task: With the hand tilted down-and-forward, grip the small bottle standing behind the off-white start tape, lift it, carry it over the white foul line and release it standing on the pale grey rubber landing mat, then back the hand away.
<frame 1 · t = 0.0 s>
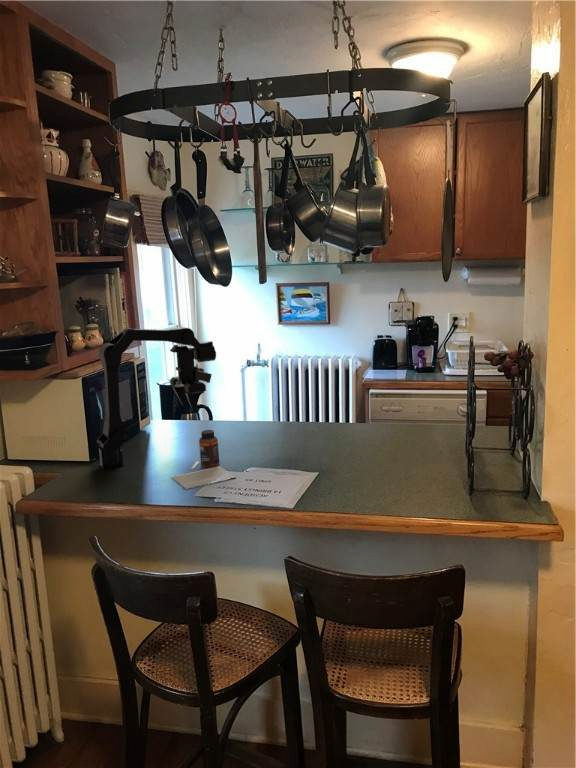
hand: (189, 408, 214), 15 cm above the countertop, tool pointing down, fingers open, 9 cm apart
supplement bottle: (210, 465, 199), on the countertop
landing mat: (203, 478, 187), on the countertop
start tape: (195, 465, 199), on the countertop
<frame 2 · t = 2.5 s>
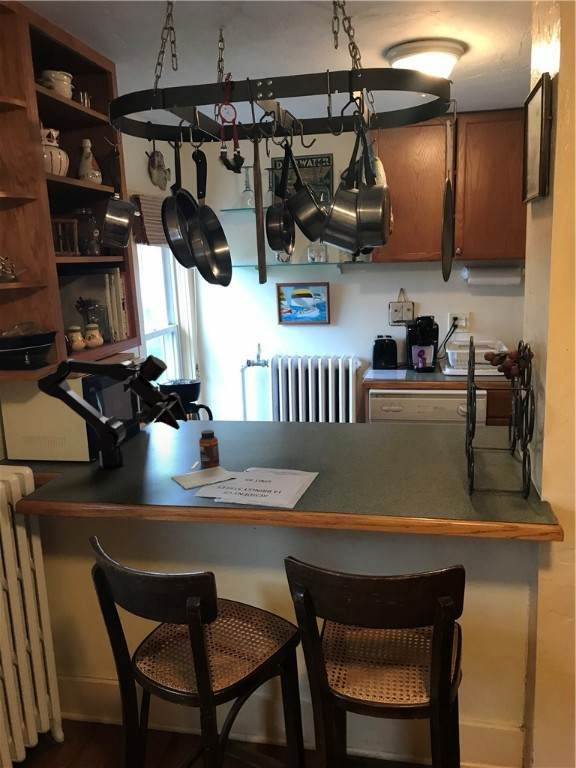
hand: (183, 424, 197), 14 cm above the countertop, tool tilted 45°, fingers open, 9 cm apart
nothing on the countertop moved.
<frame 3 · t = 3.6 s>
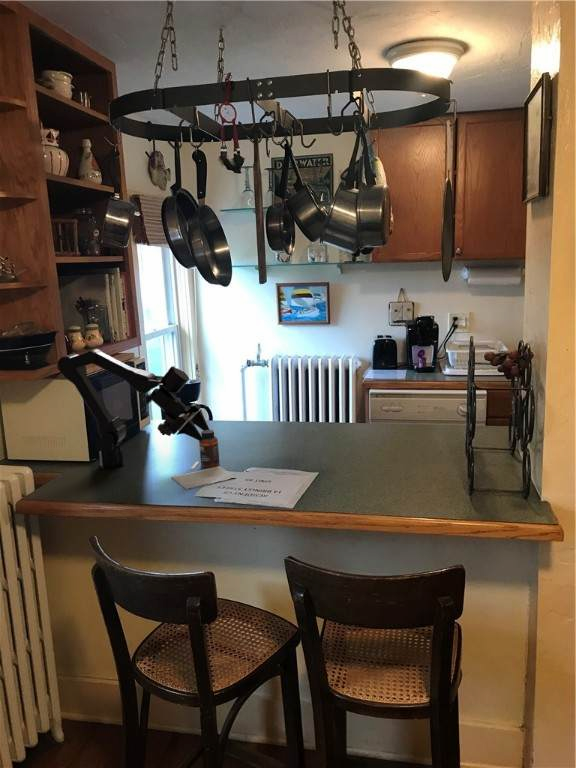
hand: (205, 435, 197), 10 cm above the countertop, tool tilted 45°, fingers open, 9 cm apart
nothing on the countertop moved.
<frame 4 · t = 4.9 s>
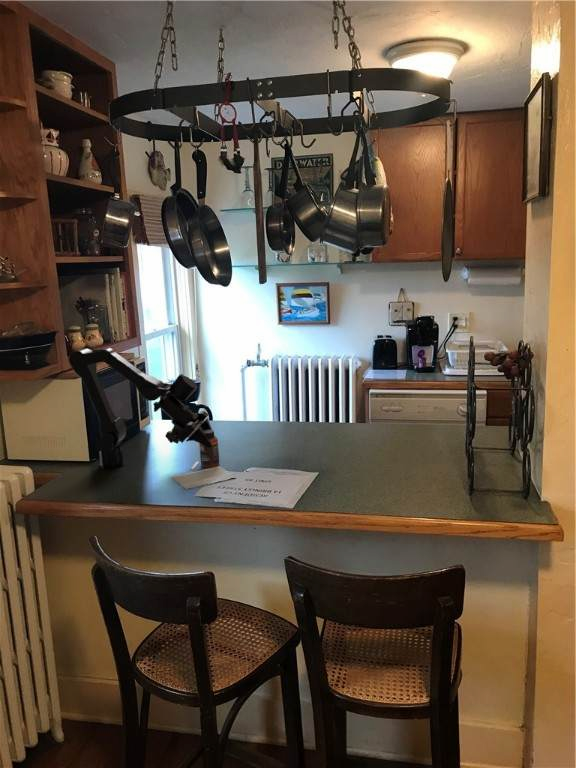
hand: (213, 443, 197), 7 cm above the countertop, tool tilted 45°, fingers closed on supplement bottle, 6 cm apart
supplement bottle: (210, 465, 199), on the countertop, touching gripper
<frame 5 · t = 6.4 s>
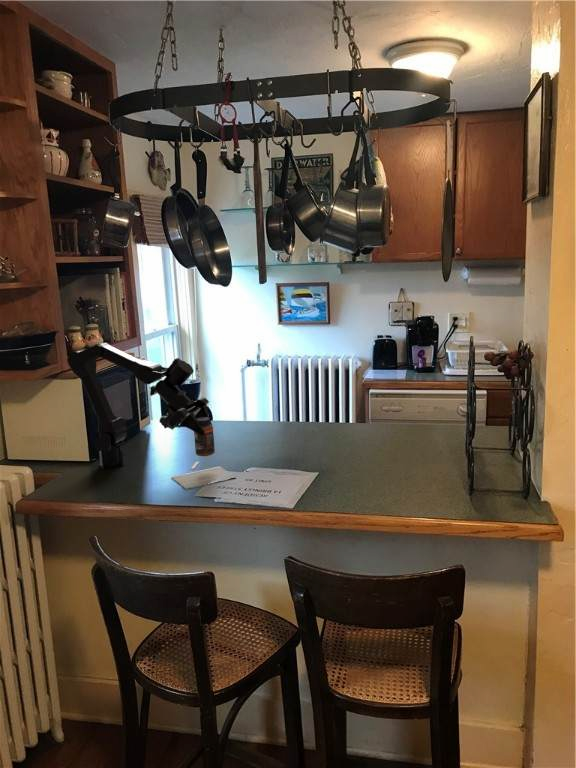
hand: (207, 431, 190), 13 cm above the countertop, tool tilted 45°, fingers closed on supplement bottle, 6 cm apart
supplement bottle: (205, 454, 192), point 5 cm above the countertop, touching gripper
when the fingers open (8 cm above the countertop, at t = 8.0 s): supplement bottle stays where it is, resting on landing mat.
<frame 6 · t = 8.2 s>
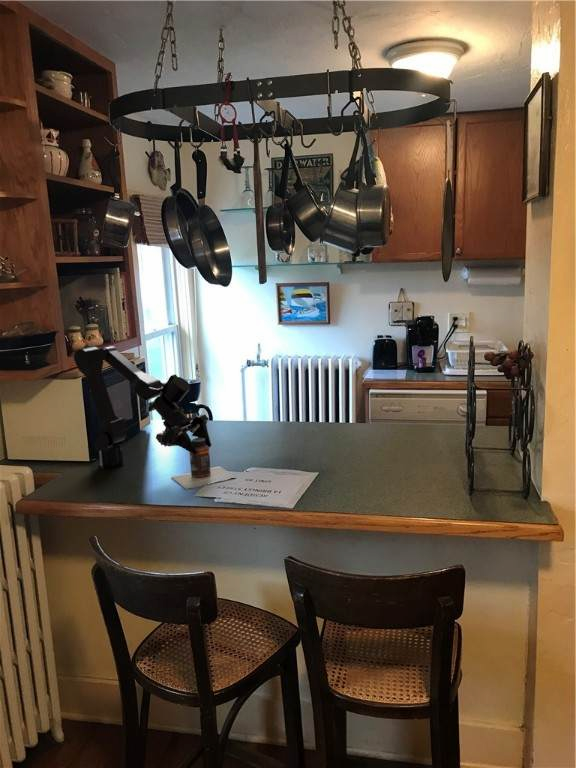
hand: (203, 450, 186), 9 cm above the countertop, tool tilted 45°, fingers open, 7 cm apart
supplement bottle: (201, 475, 188), resting on landing mat
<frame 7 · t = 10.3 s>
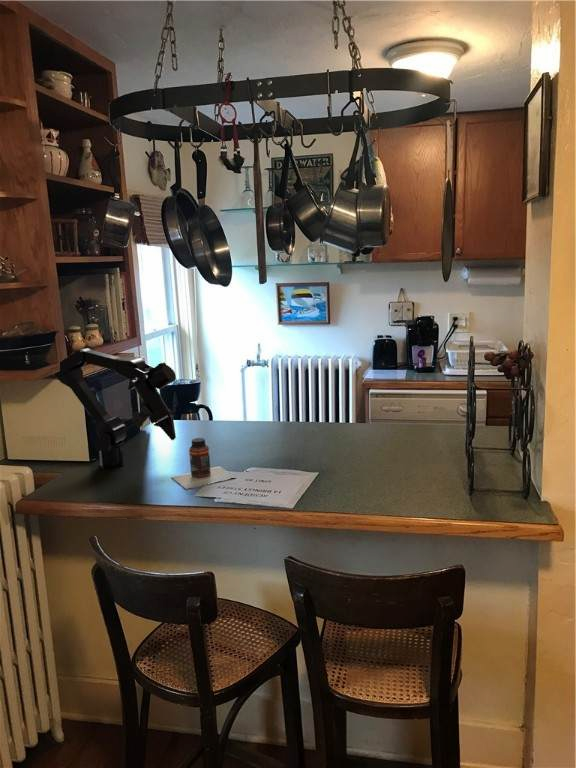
hand: (174, 439, 193), 10 cm above the countertop, tool tilted 30°, fingers open, 9 cm apart
nothing on the countertop moved.
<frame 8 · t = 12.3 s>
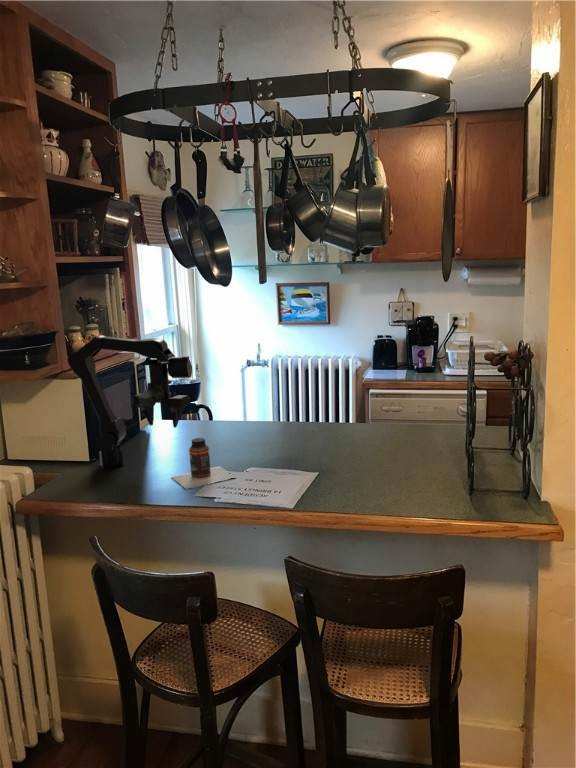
hand: (163, 426, 198), 13 cm above the countertop, tool pointing down, fingers open, 9 cm apart
nothing on the countertop moved.
at the end: supplement bottle inside the target area (2.1 cm from its centre), resting on landing mat; supplement bottle tilted 0°; the gripper is holding nothing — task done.
